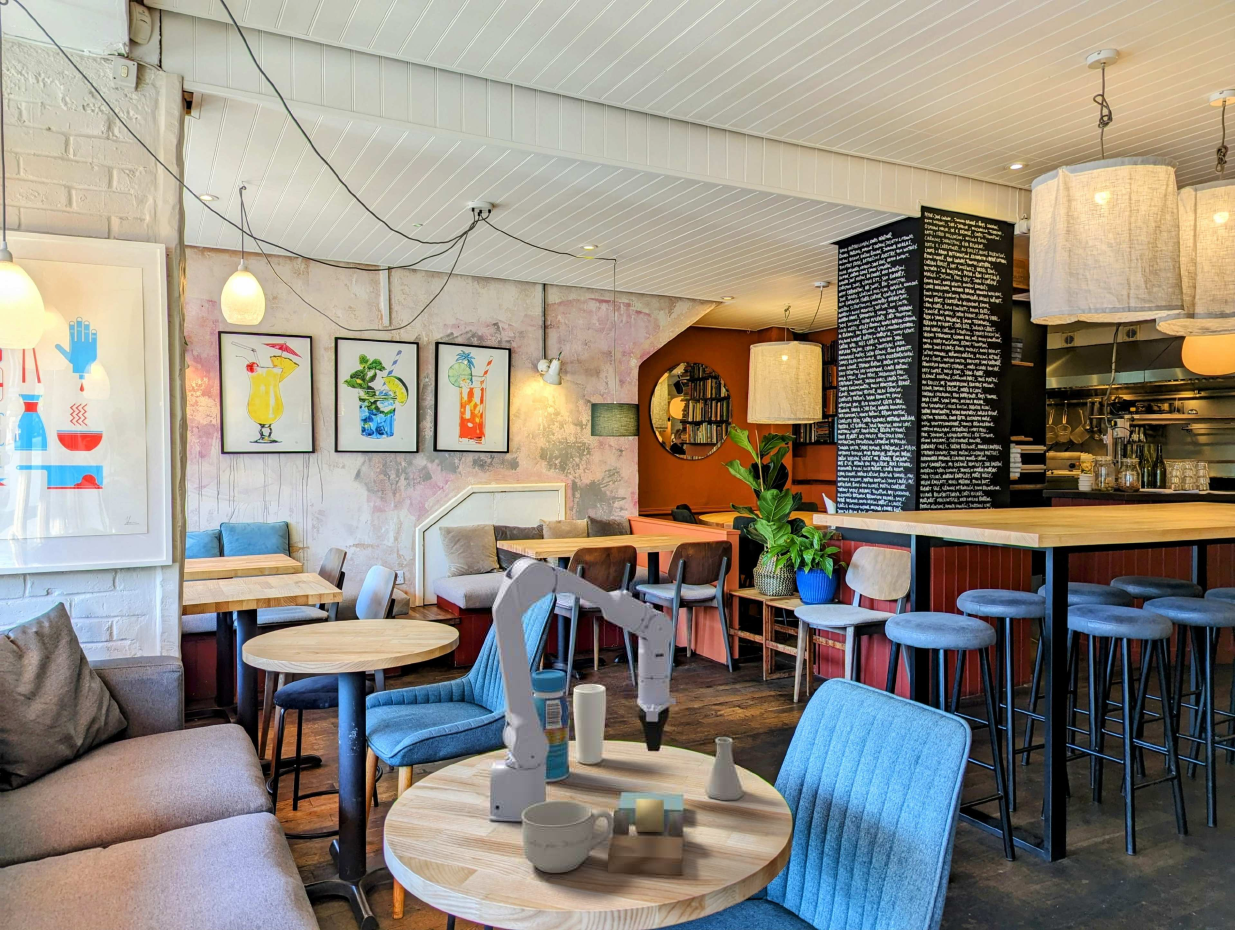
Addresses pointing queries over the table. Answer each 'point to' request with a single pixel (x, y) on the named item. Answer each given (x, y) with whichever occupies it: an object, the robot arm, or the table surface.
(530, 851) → the teacup
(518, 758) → the robot arm
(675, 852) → the fixed hinge leaf
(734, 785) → the flask
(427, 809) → the table surface
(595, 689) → the drinking glass
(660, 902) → the table surface
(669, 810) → the loose hinge leaf
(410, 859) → the table surface
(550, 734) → the beverage bottle
